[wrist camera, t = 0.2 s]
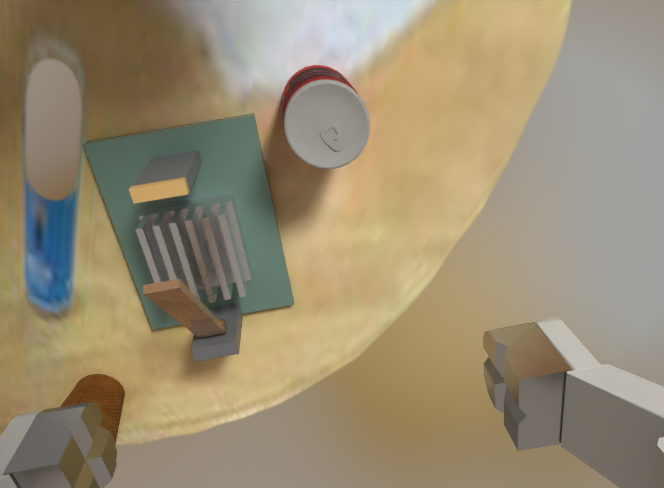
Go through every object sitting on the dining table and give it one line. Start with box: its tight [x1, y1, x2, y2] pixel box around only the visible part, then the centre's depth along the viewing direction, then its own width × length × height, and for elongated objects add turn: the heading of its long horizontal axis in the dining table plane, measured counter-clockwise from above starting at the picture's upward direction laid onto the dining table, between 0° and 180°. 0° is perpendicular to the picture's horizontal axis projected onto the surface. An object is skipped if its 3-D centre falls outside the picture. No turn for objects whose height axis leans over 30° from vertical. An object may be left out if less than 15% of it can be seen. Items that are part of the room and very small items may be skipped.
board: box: [83, 114, 294, 362], centre depth 55 cm, size 24×18×11 cm
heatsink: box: [136, 193, 252, 303], centre depth 57 cm, size 10×10×6 cm
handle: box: [143, 279, 227, 338], centre depth 50 cm, size 17×3×2 cm
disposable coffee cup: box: [61, 374, 125, 442], centre depth 64 cm, size 10×10×12 cm
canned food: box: [282, 65, 370, 169], centre depth 50 cm, size 8×8×11 cm
